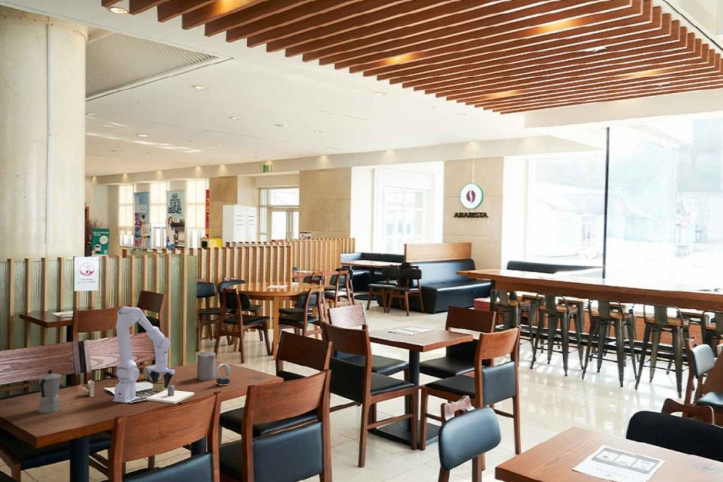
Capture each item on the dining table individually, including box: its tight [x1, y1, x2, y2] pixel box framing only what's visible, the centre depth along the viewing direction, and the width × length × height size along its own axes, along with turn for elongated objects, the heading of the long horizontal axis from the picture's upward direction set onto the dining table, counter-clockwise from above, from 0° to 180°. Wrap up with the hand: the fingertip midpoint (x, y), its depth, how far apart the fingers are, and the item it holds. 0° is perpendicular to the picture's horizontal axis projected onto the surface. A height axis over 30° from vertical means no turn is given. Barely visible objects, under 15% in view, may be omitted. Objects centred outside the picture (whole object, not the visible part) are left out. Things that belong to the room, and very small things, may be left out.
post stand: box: [145, 384, 195, 404], centre depth 282 cm, size 16×16×6 cm
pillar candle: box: [196, 351, 217, 381], centre depth 320 cm, size 10×10×15 cm
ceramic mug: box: [143, 364, 163, 382], centre depth 315 cm, size 11×8×8 cm
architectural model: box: [81, 379, 95, 398], centre depth 283 cm, size 3×7×7 cm, turn 43°
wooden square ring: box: [152, 380, 171, 393], centre depth 294 cm, size 6×6×4 cm
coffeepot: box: [38, 369, 62, 414], centre depth 258 cm, size 15×9×18 cm, turn 6°
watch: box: [215, 363, 232, 385], centre depth 308 cm, size 6×8×11 cm
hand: (161, 387), depth 294 cm, fingers closed on wooden square ring, 6 cm apart
